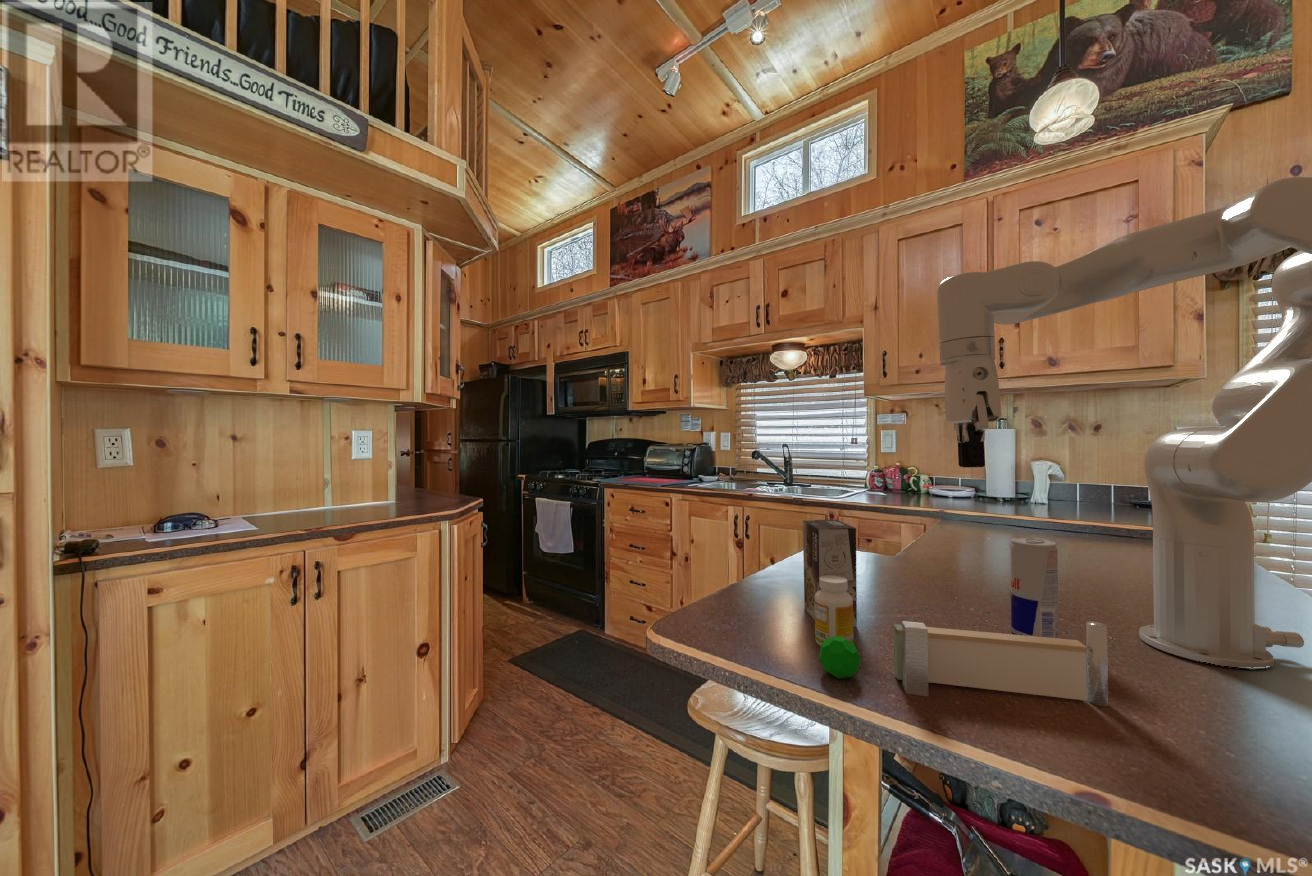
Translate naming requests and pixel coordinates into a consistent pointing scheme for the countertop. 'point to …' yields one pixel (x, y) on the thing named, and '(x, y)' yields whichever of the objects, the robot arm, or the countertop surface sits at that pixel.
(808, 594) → the coffee box
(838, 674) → the polyhedron
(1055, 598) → the beverage can
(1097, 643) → the gate frame
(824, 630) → the supplement bottle
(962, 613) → the countertop surface
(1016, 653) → the gate
